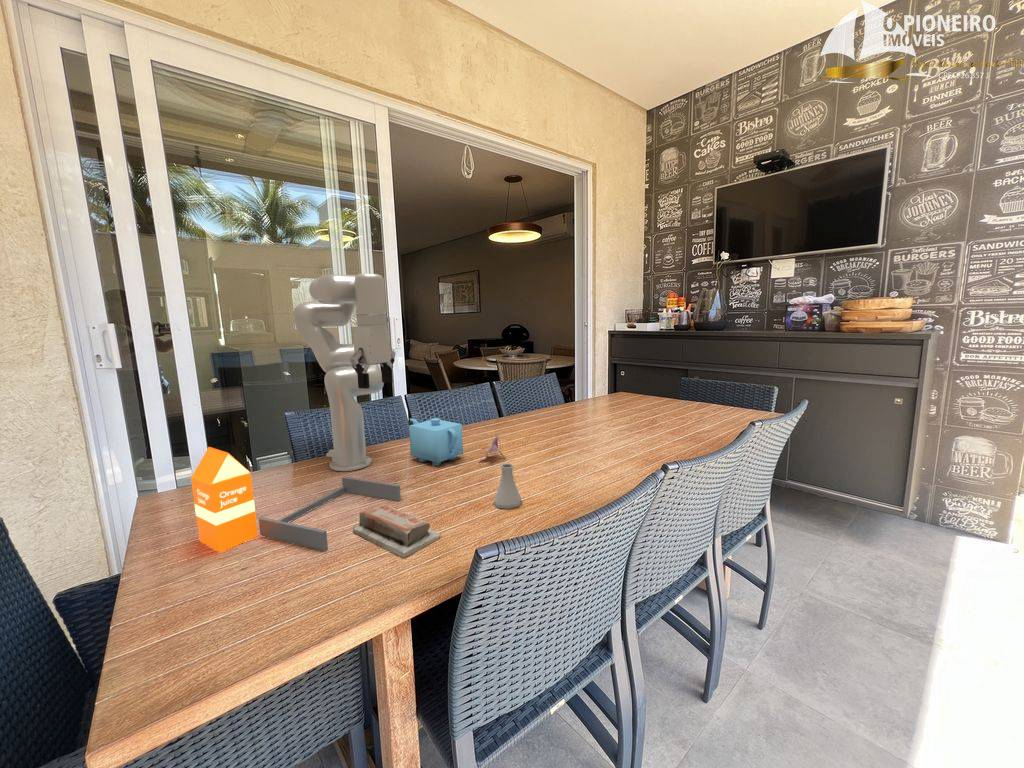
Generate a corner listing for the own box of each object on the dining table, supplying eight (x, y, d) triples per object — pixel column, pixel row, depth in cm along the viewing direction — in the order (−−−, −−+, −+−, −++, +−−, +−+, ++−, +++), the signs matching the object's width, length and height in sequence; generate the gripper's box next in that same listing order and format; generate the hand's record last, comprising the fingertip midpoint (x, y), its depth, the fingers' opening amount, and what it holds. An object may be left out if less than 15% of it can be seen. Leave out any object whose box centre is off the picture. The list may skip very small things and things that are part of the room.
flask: (492, 498, 110) (491, 461, 108) (520, 496, 110) (519, 459, 109) (494, 510, 103) (493, 471, 101) (523, 509, 103) (523, 469, 102)
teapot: (469, 460, 139) (467, 419, 137) (444, 470, 130) (442, 426, 128) (424, 448, 152) (422, 410, 150) (399, 456, 144) (396, 417, 141)
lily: (500, 454, 148) (486, 431, 146) (524, 448, 140) (509, 423, 138) (480, 474, 139) (464, 450, 138) (503, 469, 131) (487, 443, 130)
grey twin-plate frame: (260, 536, 92) (258, 518, 92) (345, 490, 116) (344, 476, 115) (324, 551, 86) (323, 532, 85) (400, 499, 109) (399, 485, 109)
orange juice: (219, 553, 85) (206, 458, 82) (199, 542, 90) (186, 451, 87) (259, 536, 92) (248, 447, 89) (238, 526, 97) (227, 441, 94)
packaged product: (349, 513, 93) (387, 497, 101) (351, 533, 93) (389, 516, 101) (402, 537, 82) (440, 518, 90) (404, 561, 83) (441, 539, 90)
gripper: (381, 321, 122) (384, 380, 125) (336, 322, 106) (342, 390, 109) (403, 321, 120) (406, 381, 122) (361, 322, 104) (365, 391, 106)
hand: (376, 385), depth 116 cm, fingers open, 9 cm apart
